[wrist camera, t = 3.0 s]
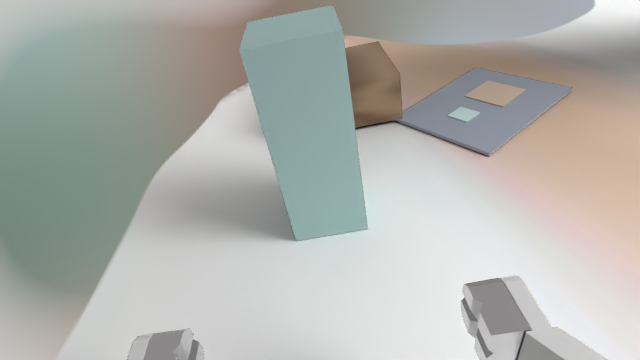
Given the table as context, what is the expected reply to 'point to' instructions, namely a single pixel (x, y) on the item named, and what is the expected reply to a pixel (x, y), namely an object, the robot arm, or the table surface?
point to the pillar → (307, 118)
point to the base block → (373, 85)
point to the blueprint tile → (483, 109)
